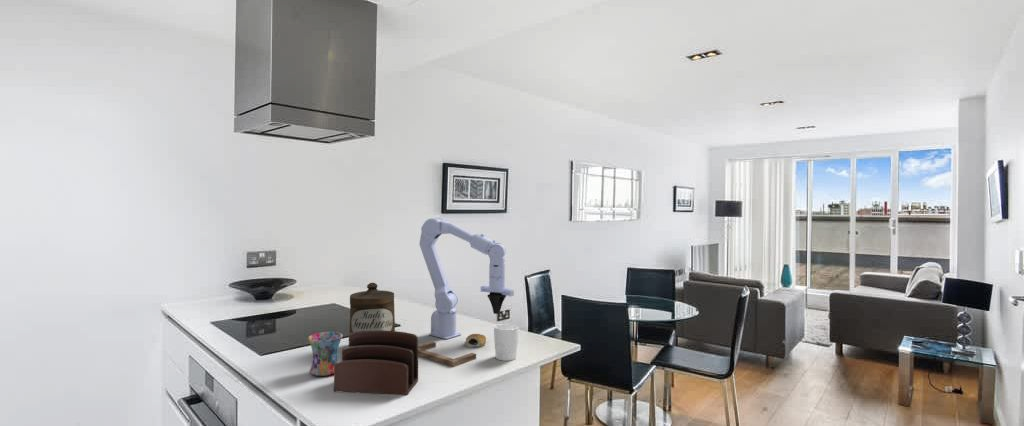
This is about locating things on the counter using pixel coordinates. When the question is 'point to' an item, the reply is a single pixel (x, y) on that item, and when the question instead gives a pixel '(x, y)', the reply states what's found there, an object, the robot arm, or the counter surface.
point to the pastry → (475, 340)
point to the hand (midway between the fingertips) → (496, 313)
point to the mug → (324, 352)
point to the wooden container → (372, 310)
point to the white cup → (506, 341)
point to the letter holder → (378, 363)
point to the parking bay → (443, 359)
